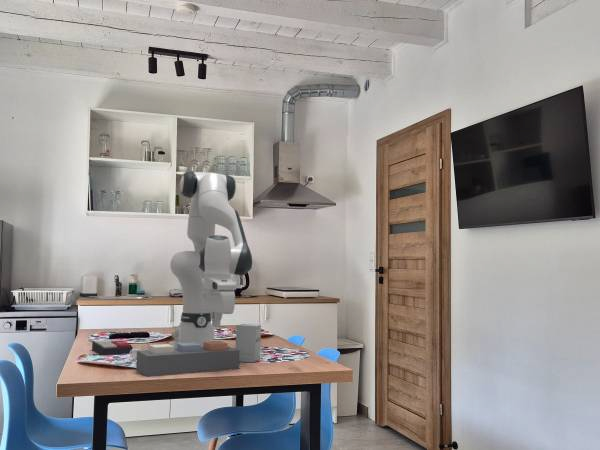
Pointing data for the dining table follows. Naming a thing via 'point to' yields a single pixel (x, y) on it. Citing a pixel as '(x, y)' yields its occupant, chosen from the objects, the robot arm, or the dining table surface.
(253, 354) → the supplement box
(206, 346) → the terracotta key
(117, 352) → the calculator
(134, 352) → the white curved piece
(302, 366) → the dining table surface
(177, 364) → the key console
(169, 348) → the cream key
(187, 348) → the slate key
